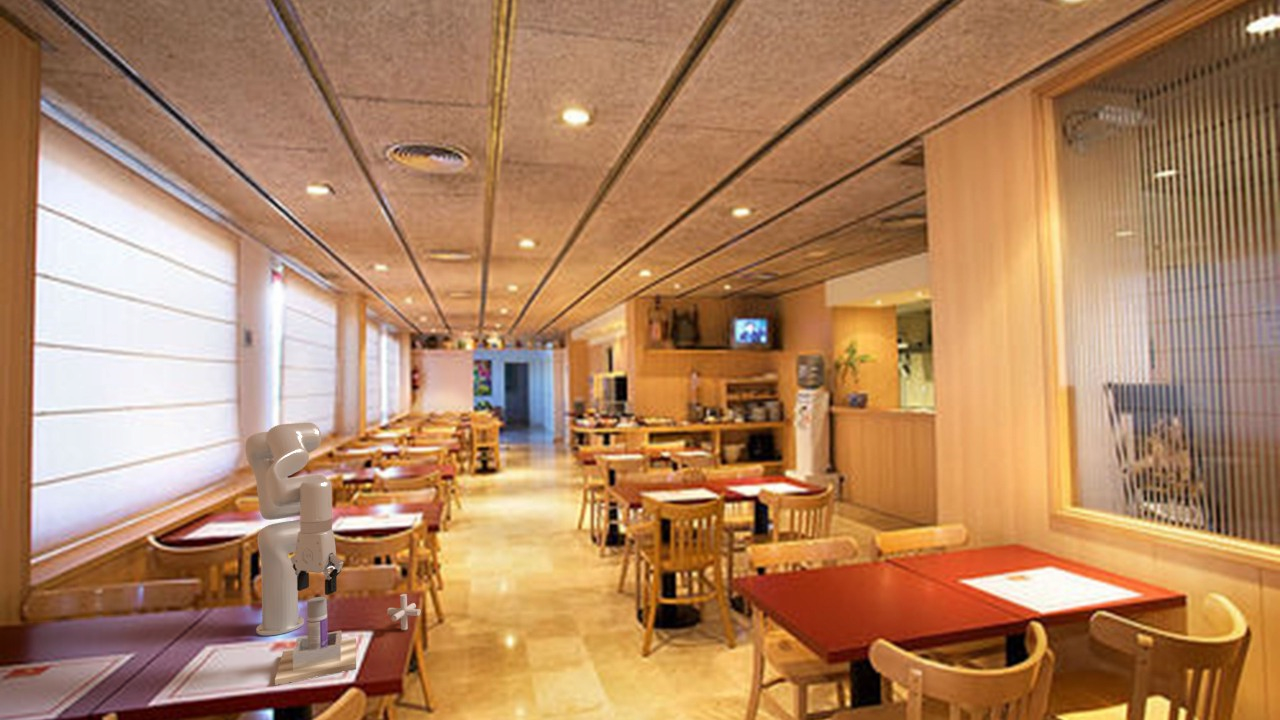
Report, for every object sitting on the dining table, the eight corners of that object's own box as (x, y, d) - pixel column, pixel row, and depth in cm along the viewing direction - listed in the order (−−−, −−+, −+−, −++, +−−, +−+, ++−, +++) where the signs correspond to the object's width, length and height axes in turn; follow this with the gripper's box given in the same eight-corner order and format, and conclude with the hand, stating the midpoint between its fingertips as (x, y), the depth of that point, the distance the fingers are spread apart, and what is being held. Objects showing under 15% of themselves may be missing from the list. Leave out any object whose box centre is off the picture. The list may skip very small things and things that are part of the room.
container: (323, 651, 166) (322, 595, 167) (331, 656, 163) (330, 598, 164) (304, 657, 162) (304, 600, 163) (312, 662, 159) (311, 604, 160)
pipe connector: (409, 636, 178) (409, 601, 178) (378, 635, 180) (378, 600, 180) (428, 623, 188) (427, 589, 188) (398, 621, 190) (398, 588, 190)
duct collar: (297, 653, 165) (296, 638, 166) (341, 645, 170) (341, 630, 170) (293, 670, 156) (292, 654, 156) (340, 660, 160) (340, 645, 160)
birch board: (283, 656, 167) (283, 651, 167) (356, 643, 175) (356, 637, 175) (275, 685, 151) (274, 679, 151) (356, 669, 158) (355, 663, 158)
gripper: (279, 527, 163) (280, 592, 163) (329, 532, 157) (330, 599, 157) (304, 520, 170) (304, 583, 170) (352, 525, 164) (353, 589, 164)
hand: (316, 591), depth 164 cm, fingers open, 9 cm apart
